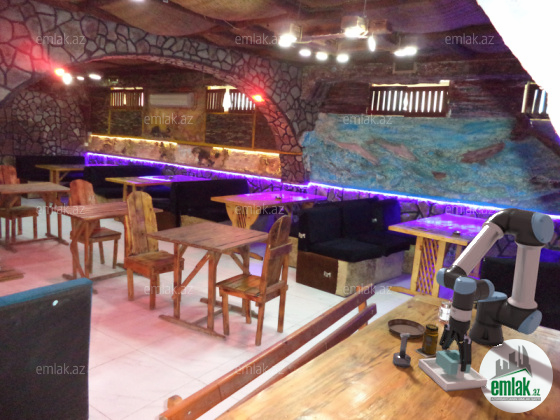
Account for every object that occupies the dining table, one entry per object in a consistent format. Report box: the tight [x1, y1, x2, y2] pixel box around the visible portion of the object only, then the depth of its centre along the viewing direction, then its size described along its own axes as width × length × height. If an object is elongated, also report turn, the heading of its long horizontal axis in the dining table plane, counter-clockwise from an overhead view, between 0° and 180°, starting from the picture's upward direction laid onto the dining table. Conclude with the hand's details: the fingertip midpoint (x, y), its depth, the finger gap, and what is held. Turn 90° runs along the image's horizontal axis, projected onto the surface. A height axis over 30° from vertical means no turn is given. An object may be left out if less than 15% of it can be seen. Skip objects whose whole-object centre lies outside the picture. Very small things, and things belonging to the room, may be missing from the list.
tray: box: [417, 357, 488, 392], centre depth 175 cm, size 18×18×3 cm
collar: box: [435, 349, 472, 375], centre depth 174 cm, size 9×9×5 cm
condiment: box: [414, 323, 439, 359], centre depth 192 cm, size 7×8×12 cm
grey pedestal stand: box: [392, 333, 412, 369], centre depth 181 cm, size 7×7×13 cm
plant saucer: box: [386, 318, 426, 339], centre depth 212 cm, size 18×18×3 cm
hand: (451, 371), depth 175 cm, fingers closed on collar, 9 cm apart
